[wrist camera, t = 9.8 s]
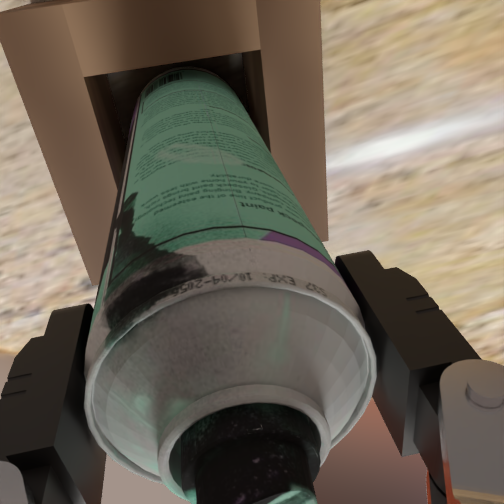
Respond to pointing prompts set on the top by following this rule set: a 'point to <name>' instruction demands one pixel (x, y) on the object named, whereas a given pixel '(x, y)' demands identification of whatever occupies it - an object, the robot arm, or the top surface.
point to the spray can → (218, 311)
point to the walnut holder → (153, 54)
